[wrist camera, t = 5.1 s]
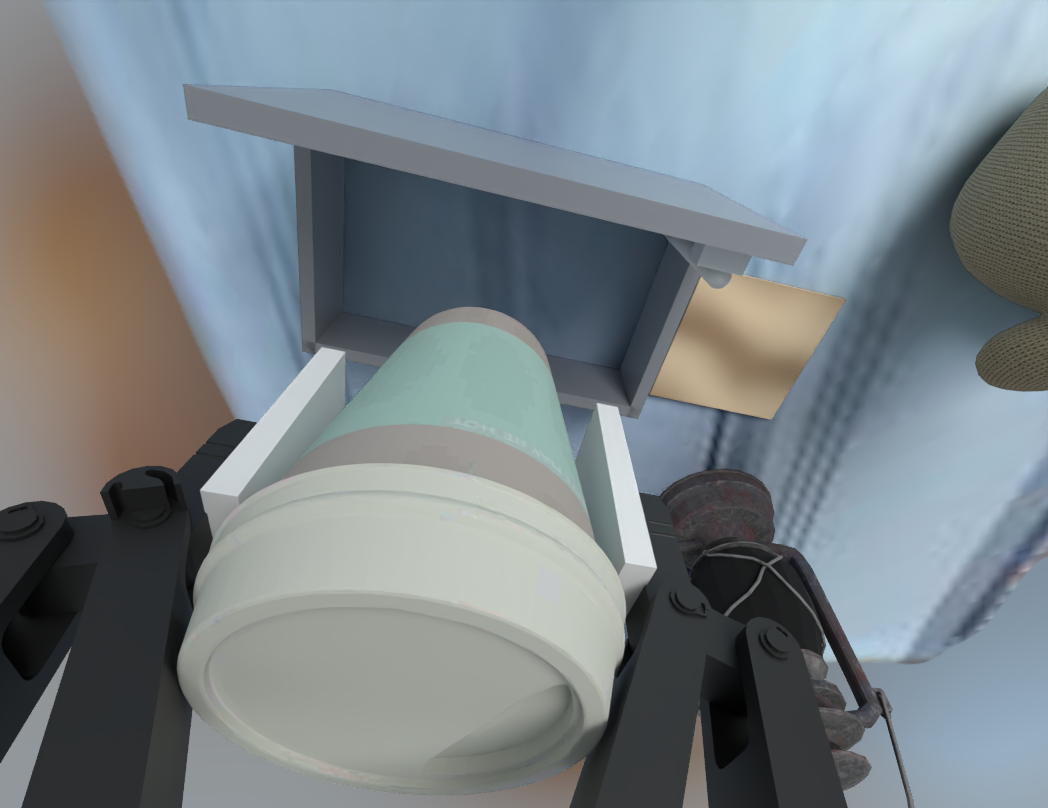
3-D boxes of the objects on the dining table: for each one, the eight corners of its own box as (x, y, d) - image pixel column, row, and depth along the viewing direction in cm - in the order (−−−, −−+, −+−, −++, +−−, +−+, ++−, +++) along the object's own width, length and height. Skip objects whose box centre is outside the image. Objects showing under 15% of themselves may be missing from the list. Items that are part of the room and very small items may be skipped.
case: (331, 89, 26) (183, 83, 15) (703, 184, 28) (807, 239, 17) (331, 327, 34) (234, 436, 23) (623, 387, 36) (660, 513, 25)
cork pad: (703, 265, 31) (705, 267, 31) (842, 298, 32) (845, 300, 32) (648, 391, 36) (649, 394, 36) (769, 416, 37) (771, 419, 37)
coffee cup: (431, 481, 21) (334, 821, 11) (320, 317, 17) (11, 633, 7) (613, 428, 19) (688, 783, 10) (539, 228, 15) (535, 493, 5)
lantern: (635, 551, 46) (751, 1092, 21) (648, 468, 40) (829, 1078, 15) (763, 551, 46) (1039, 1104, 21) (795, 468, 40) (1231, 1094, 15)
